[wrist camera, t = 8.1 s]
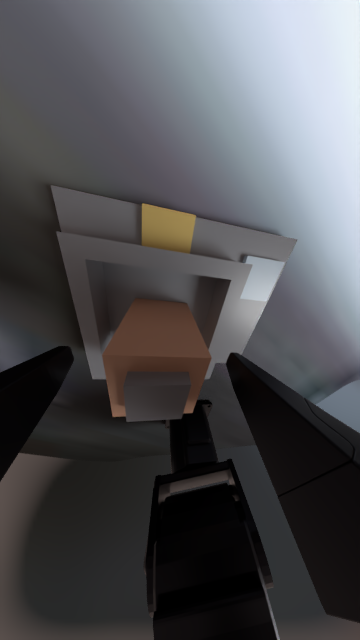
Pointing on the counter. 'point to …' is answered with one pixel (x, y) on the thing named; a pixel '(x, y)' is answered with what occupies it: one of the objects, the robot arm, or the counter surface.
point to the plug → (155, 362)
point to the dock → (164, 269)
